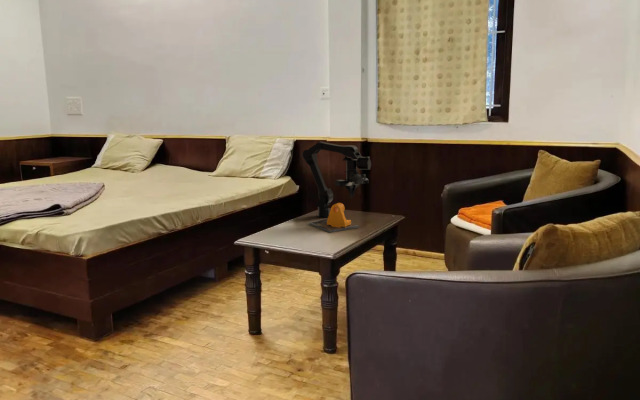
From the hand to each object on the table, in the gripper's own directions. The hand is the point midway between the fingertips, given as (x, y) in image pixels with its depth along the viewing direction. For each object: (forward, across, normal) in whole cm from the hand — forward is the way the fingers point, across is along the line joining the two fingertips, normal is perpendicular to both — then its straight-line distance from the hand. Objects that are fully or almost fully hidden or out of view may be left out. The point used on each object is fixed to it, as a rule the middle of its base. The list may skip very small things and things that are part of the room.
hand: (351, 197), depth 279 cm
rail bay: (+12, -17, -8) cm, 22 cm away
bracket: (+12, -14, -9) cm, 21 cm away
